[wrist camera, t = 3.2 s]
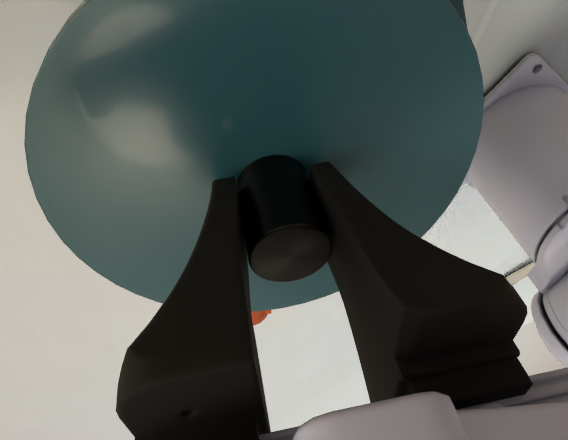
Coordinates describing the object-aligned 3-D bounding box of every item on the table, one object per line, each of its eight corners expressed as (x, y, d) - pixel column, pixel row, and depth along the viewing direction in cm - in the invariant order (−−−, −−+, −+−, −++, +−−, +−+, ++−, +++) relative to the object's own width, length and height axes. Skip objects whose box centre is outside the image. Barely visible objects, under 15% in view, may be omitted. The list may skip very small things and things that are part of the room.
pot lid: (537, 121, 16) (622, 196, 13) (283, 323, 22) (300, 406, 19) (222, -276, 8) (254, -318, 5) (-41, 213, 14) (-97, 325, 11)
